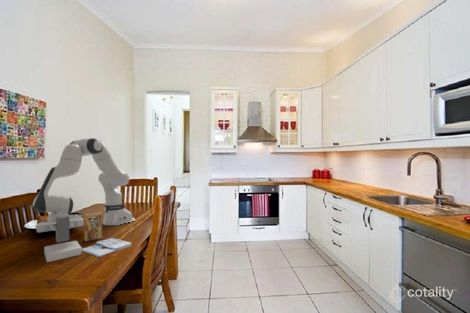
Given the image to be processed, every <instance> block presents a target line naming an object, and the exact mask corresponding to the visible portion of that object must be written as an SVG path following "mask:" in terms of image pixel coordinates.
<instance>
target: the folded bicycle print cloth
mask: <svg viewBox="0 0 470 313" xmlns="http://www.w3.org/2000/svg"><path fill="white" fill-rule="evenodd" d="M132 244H133V243H132V242H130V241H125V240H121V239H118V238H114V237H111V238H107V239H103V240H99V241H95V244H93V245H91V246H87V247H85V248H84V247H82V248H81V252H83V253H87V254H89V255H93V256H95V257H96V258H101V257H104V256H106V254H107V255H108V254H112V253H115V252H118V251H120V250H123V249H126V248H129V247H131V246H132V247H133V245H132ZM102 247H103V249H102Z"/></svg>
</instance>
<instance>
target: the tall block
mask: <svg viewBox="0 0 470 313" xmlns="http://www.w3.org/2000/svg"><path fill="white" fill-rule="evenodd" d="M56 226H57V230H56V231H55V242H56V243H64V242H69V241H70V228H69V216H68V215H65V216H58V217H56Z"/></svg>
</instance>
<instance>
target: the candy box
mask: <svg viewBox="0 0 470 313" xmlns="http://www.w3.org/2000/svg"><path fill="white" fill-rule="evenodd" d="M102 215H103V214H102V212H96V213H85V214H84V241H85V242H87V241H95V240H101V239H102V225H103V222H102Z"/></svg>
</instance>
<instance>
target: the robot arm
mask: <svg viewBox="0 0 470 313" xmlns="http://www.w3.org/2000/svg"><path fill="white" fill-rule="evenodd" d="M90 155H91V156H92V159H93V161H94V163H95V165H97V168H98V170H99V171H101V173H100V174H99V176H98V182H99V183H100V185H101V186H102V188H103V190H104V196H105V198H104V200H105V202H104V203H105V204H104V218H103V222H102V225H103V226H120V224H121V225H125V224H124V223H126V224H129V223H128V222H130V223H133V222H132V221H134V222H136V221H135V220H136V218H135V217H133V213H132V212H131V211H130V210H128V209H127V208H126V207H127V206H128V205H127V204H126V203H123V202H122V201H123V198H122V197H123V193H122V192H121V191H120V189H119V187H123V186H127V185H128V183H130V175H129V174H128V173H127V172H124V170H122V169H121V168H120V167H119V165H117V163H116V162H115V160H114V158H113V157H112V155H111V153H110V151H109V150H108V148H107V147H106V146H105V144H104V143H102V141H101V140H100V139H99V138H95V137H91V138H82V139H77V140H74V141H72V142H70V143H69V144H67V145H66V146H65V147H64V148H63V150H62V153H61V155H60V159H59V162H58V164H57V165H56V166H53V167H52V168H50V170H49V171H48V173H47V175H46V177H45V179H44V181H43V183H42V185H41V187H40V189H39V191H38V193H37V195H36V196H35V198H34V199H33V202H32V209H33V210H34V211H35V212H37V213H49V214H48V216H47V221H41V222H38V223H37V225H35V229H36V233H45V232H50V231H51V232H53V231H55V232H56V230H57V226H56V217H58V216H65V215H68V216H69V229H73V228H77V227H82V226H84V218H83V217H81V216H80V215H78V214H76V213H75V214H74V213H73V214H72V212H73V208H74V201H73V198H71V196H67V195H58V194H57V195H55V194H49V191H50V190H51V187H52V185H53V183H54V181H55V180H57V179H61V178H65V177H70V176H73V175H75V174H77V173H78V172H79V171H80V169H81V167H82V166H81V164H82V159H83V157H85V156H90Z"/></svg>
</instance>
